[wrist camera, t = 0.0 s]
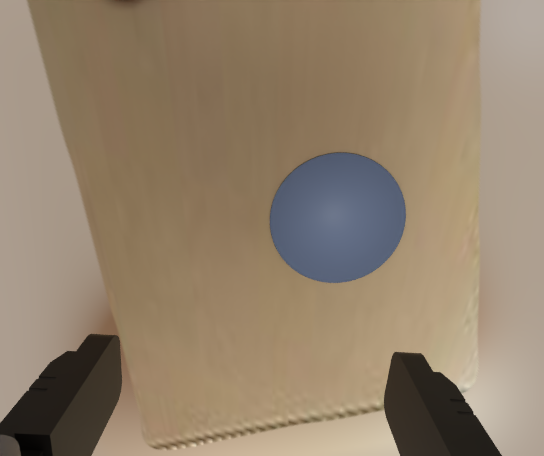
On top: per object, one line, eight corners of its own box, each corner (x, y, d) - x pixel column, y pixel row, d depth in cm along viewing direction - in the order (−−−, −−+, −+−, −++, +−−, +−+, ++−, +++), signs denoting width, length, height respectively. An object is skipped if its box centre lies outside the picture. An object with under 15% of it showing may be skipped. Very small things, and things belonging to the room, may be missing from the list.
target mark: (275, 147, 38) (275, 147, 38) (416, 157, 39) (417, 158, 39) (265, 277, 43) (265, 278, 43) (392, 285, 43) (393, 286, 43)
